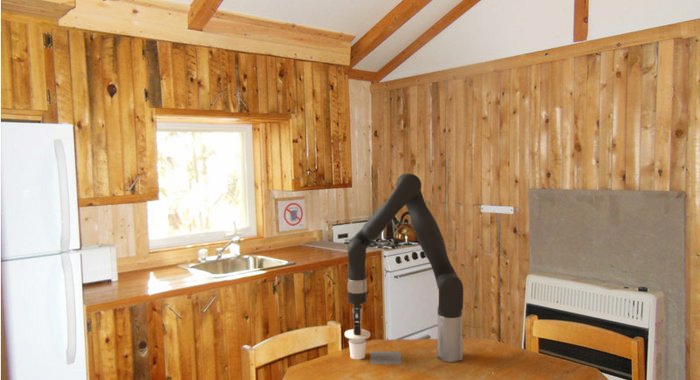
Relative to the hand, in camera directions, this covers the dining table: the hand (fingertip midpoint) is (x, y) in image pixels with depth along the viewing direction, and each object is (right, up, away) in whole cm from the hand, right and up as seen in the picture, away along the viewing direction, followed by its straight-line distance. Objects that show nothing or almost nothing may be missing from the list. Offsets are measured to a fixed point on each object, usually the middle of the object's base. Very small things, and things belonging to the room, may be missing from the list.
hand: (357, 333), depth 198 cm
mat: (+11, -10, -1) cm, 15 cm away
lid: (0, -1, 0) cm, 1 cm away
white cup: (0, -10, +1) cm, 10 cm away
